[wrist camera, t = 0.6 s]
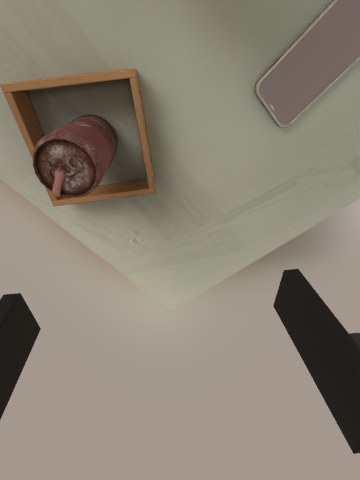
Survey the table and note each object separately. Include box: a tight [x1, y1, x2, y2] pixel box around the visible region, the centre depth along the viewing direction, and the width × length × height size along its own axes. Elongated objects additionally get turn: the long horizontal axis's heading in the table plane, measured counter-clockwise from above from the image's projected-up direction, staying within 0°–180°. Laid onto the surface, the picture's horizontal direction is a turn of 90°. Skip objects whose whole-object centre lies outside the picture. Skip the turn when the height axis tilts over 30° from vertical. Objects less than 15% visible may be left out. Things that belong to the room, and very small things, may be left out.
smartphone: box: [256, 0, 360, 127], centre depth 30 cm, size 7×1×15 cm
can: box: [33, 115, 117, 198], centre depth 27 cm, size 6×6×14 cm
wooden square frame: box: [0, 69, 155, 206], centre depth 31 cm, size 15×15×4 cm
